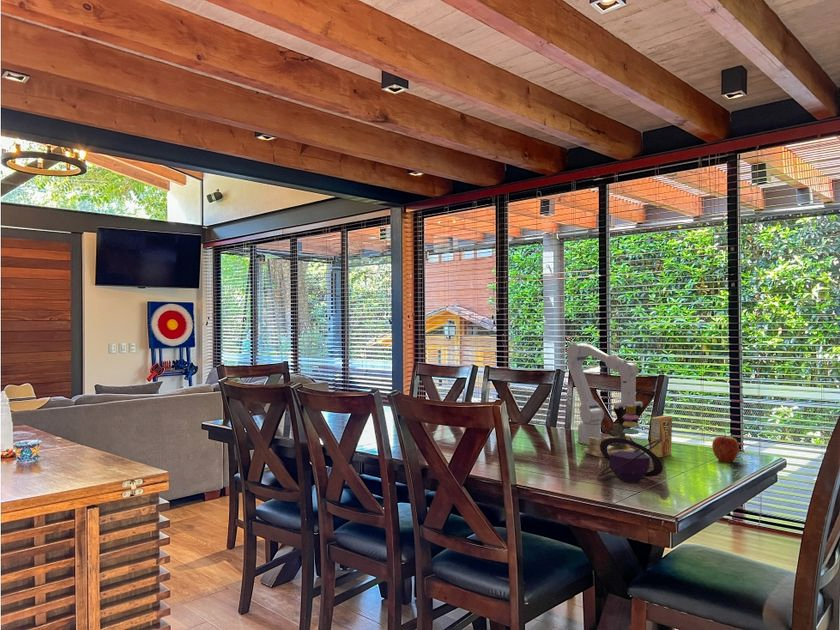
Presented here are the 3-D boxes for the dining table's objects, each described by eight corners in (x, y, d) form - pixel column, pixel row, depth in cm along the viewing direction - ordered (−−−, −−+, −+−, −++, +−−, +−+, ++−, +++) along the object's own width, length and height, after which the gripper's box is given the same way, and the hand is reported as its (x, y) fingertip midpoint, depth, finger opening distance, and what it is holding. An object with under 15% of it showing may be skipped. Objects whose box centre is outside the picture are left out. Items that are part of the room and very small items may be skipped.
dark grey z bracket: (610, 445, 256) (610, 423, 256) (613, 445, 256) (613, 423, 257) (621, 448, 250) (621, 425, 250) (624, 447, 251) (624, 425, 251)
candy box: (662, 453, 251) (662, 415, 251) (672, 455, 248) (672, 416, 248) (650, 456, 246) (650, 417, 246) (660, 458, 242) (660, 418, 243)
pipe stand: (583, 452, 251) (583, 436, 251) (616, 448, 260) (616, 432, 260) (601, 457, 242) (601, 440, 243) (634, 453, 251) (634, 436, 251)
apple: (711, 462, 236) (711, 435, 236) (712, 457, 244) (712, 432, 244) (738, 465, 232) (738, 438, 232) (738, 460, 240) (739, 434, 240)
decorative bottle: (677, 481, 206) (677, 406, 206) (647, 493, 191) (648, 412, 192) (614, 469, 222) (615, 399, 222) (583, 480, 207) (583, 404, 208)
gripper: (622, 393, 249) (622, 427, 249) (648, 392, 256) (648, 425, 256) (609, 392, 256) (609, 425, 255) (635, 390, 263) (634, 422, 262)
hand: (628, 425), depth 256 cm, fingers open, 7 cm apart
